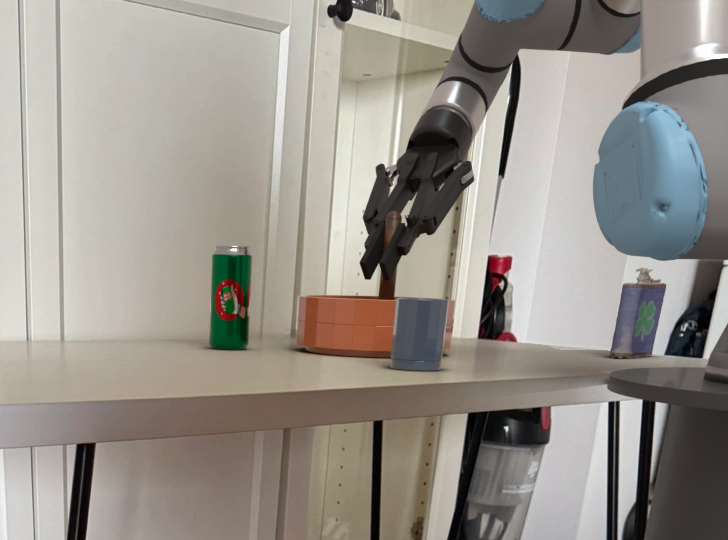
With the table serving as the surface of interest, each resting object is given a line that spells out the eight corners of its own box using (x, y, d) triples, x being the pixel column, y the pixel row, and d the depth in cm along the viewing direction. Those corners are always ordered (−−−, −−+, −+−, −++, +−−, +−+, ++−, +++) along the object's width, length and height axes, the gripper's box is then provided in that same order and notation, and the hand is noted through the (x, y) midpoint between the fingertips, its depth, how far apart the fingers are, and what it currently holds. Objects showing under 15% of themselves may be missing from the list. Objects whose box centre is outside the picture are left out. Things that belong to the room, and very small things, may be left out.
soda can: (227, 346, 135) (230, 246, 130) (256, 349, 132) (261, 246, 127) (200, 347, 132) (203, 245, 127) (230, 350, 129) (234, 245, 124)
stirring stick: (394, 331, 132) (405, 210, 127) (384, 331, 131) (396, 209, 125) (381, 330, 134) (392, 211, 128) (372, 331, 132) (382, 210, 127)
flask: (623, 358, 131) (640, 267, 127) (602, 357, 133) (617, 267, 129) (656, 356, 137) (673, 268, 133) (635, 354, 139) (651, 268, 135)
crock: (450, 369, 111) (459, 299, 108) (421, 371, 108) (429, 300, 105) (409, 365, 115) (416, 297, 112) (379, 367, 111) (386, 298, 108)
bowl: (478, 354, 132) (485, 300, 129) (388, 361, 119) (394, 301, 117) (356, 344, 145) (360, 294, 142) (263, 349, 132) (266, 295, 129)
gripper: (506, 155, 131) (437, 296, 126) (398, 159, 139) (329, 292, 134) (497, 101, 125) (424, 247, 120) (385, 109, 133) (312, 246, 128)
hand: (374, 271), depth 127 cm, fingers closed on stirring stick, 2 cm apart
